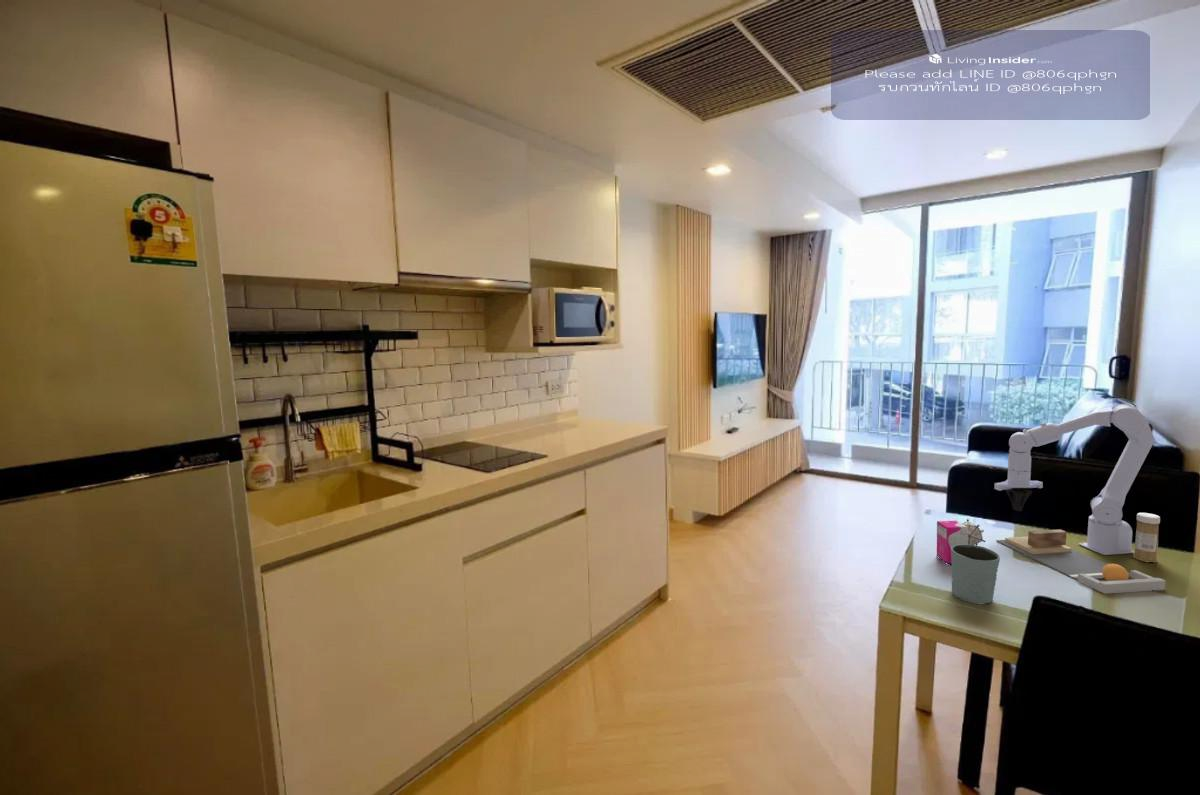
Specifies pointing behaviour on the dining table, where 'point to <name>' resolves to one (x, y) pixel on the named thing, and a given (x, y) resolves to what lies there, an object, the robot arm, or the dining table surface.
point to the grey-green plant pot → (973, 572)
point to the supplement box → (949, 538)
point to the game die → (973, 533)
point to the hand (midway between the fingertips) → (1017, 510)
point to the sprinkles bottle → (1147, 537)
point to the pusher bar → (1047, 538)
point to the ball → (1114, 572)
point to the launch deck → (1083, 567)
